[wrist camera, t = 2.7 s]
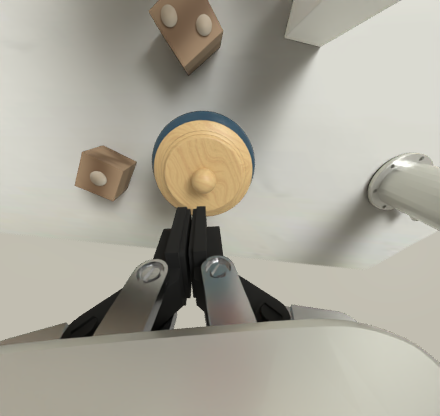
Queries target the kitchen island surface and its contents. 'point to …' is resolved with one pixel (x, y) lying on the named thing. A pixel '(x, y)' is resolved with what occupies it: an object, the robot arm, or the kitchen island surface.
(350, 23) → the milk
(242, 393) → the robot arm
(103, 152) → the dotted block
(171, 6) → the dotted block
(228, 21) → the kitchen island surface
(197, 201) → the canister
